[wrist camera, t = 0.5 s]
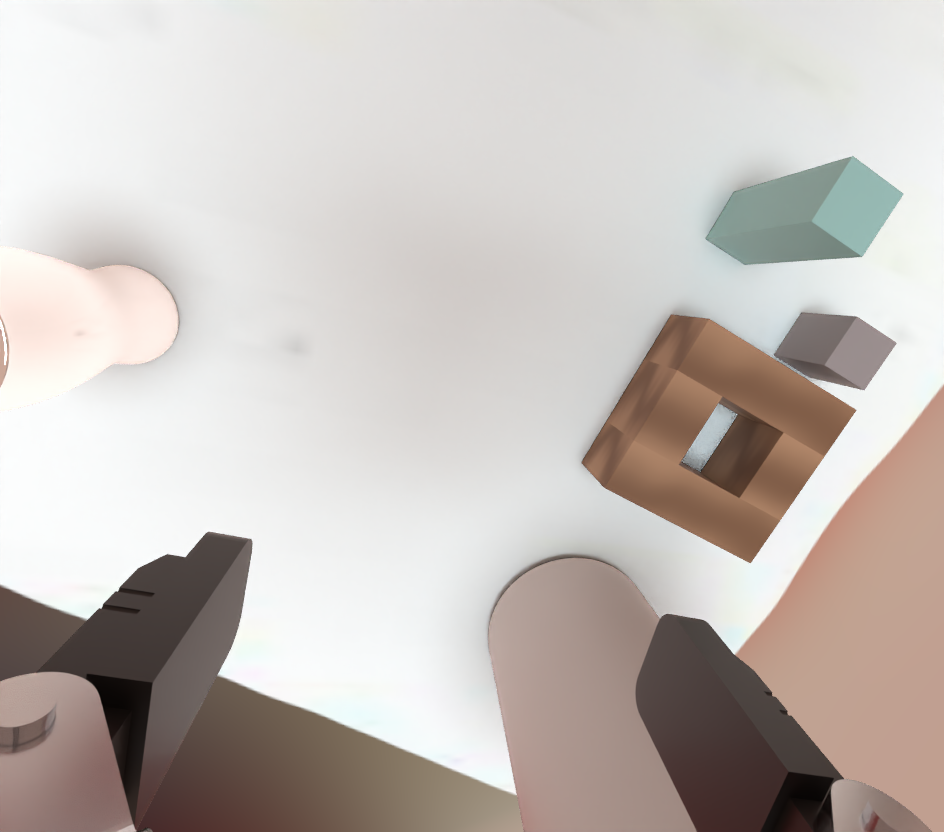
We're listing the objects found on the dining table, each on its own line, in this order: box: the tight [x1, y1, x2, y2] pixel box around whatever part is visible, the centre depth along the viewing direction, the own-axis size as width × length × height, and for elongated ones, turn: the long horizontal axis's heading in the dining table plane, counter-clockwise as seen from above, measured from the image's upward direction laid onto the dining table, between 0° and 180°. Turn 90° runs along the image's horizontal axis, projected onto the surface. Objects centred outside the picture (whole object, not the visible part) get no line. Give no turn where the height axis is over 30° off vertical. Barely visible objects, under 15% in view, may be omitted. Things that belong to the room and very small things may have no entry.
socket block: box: [582, 315, 856, 563], centre depth 37 cm, size 12×12×5 cm
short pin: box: [774, 313, 896, 390], centre depth 36 cm, size 3×3×5 cm
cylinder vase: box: [488, 558, 697, 832], centre depth 30 cm, size 12×12×25 cm
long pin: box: [706, 156, 903, 265], centre depth 31 cm, size 3×3×10 cm
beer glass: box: [0, 246, 179, 412], centre depth 26 cm, size 7×7×15 cm
